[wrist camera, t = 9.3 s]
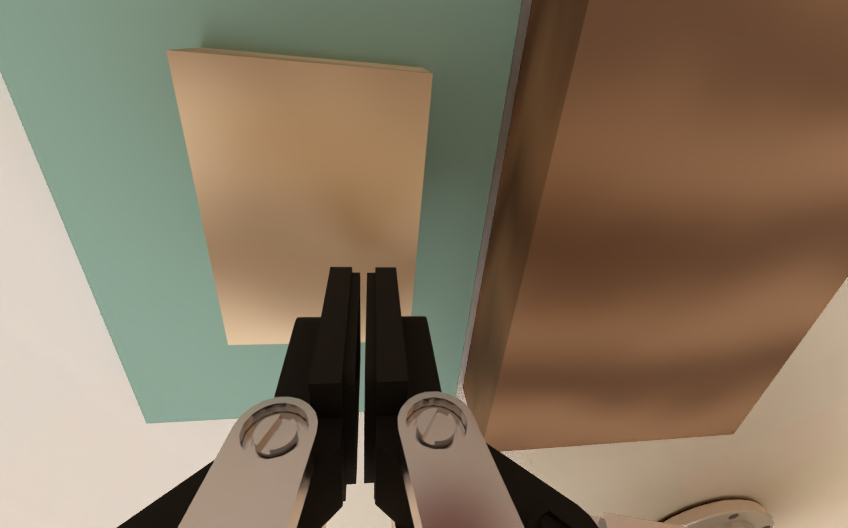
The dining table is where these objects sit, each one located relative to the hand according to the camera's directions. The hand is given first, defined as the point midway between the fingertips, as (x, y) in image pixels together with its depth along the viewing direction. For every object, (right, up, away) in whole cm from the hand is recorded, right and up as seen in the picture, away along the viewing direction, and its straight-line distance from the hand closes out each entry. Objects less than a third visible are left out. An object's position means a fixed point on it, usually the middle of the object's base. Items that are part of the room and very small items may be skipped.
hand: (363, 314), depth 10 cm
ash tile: (-2, +2, +3) cm, 4 cm away
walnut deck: (+12, +4, +7) cm, 14 cm away
